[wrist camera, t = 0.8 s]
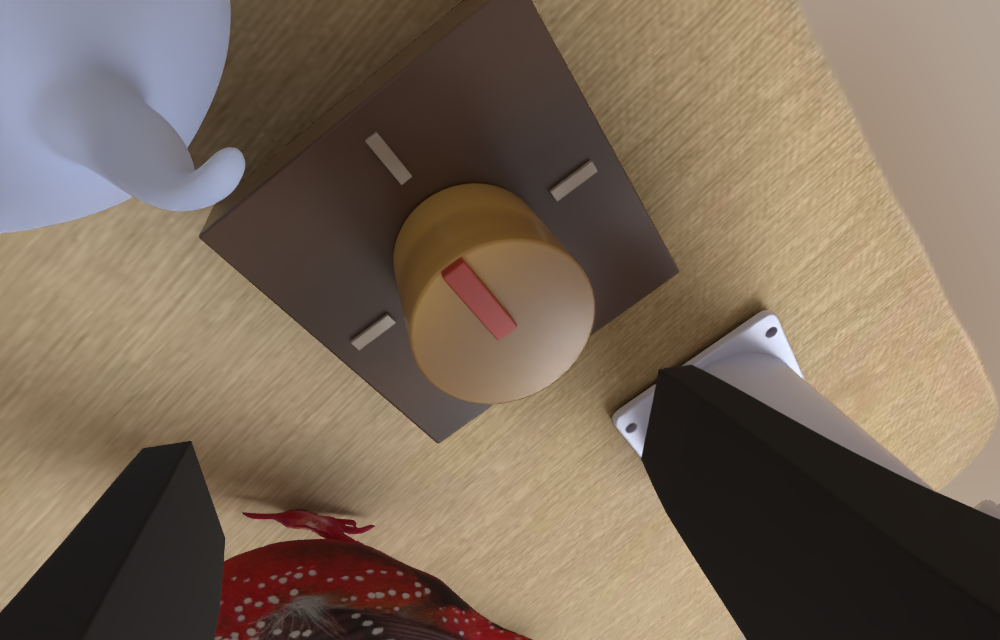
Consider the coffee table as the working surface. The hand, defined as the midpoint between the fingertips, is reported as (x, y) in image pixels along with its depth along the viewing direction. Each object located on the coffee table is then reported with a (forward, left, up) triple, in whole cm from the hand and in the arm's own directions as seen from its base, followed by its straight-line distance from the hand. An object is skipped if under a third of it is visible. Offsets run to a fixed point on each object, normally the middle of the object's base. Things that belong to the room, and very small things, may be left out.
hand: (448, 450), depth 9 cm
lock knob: (-2, -1, -8) cm, 8 cm away
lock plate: (-2, -1, -11) cm, 11 cm away
